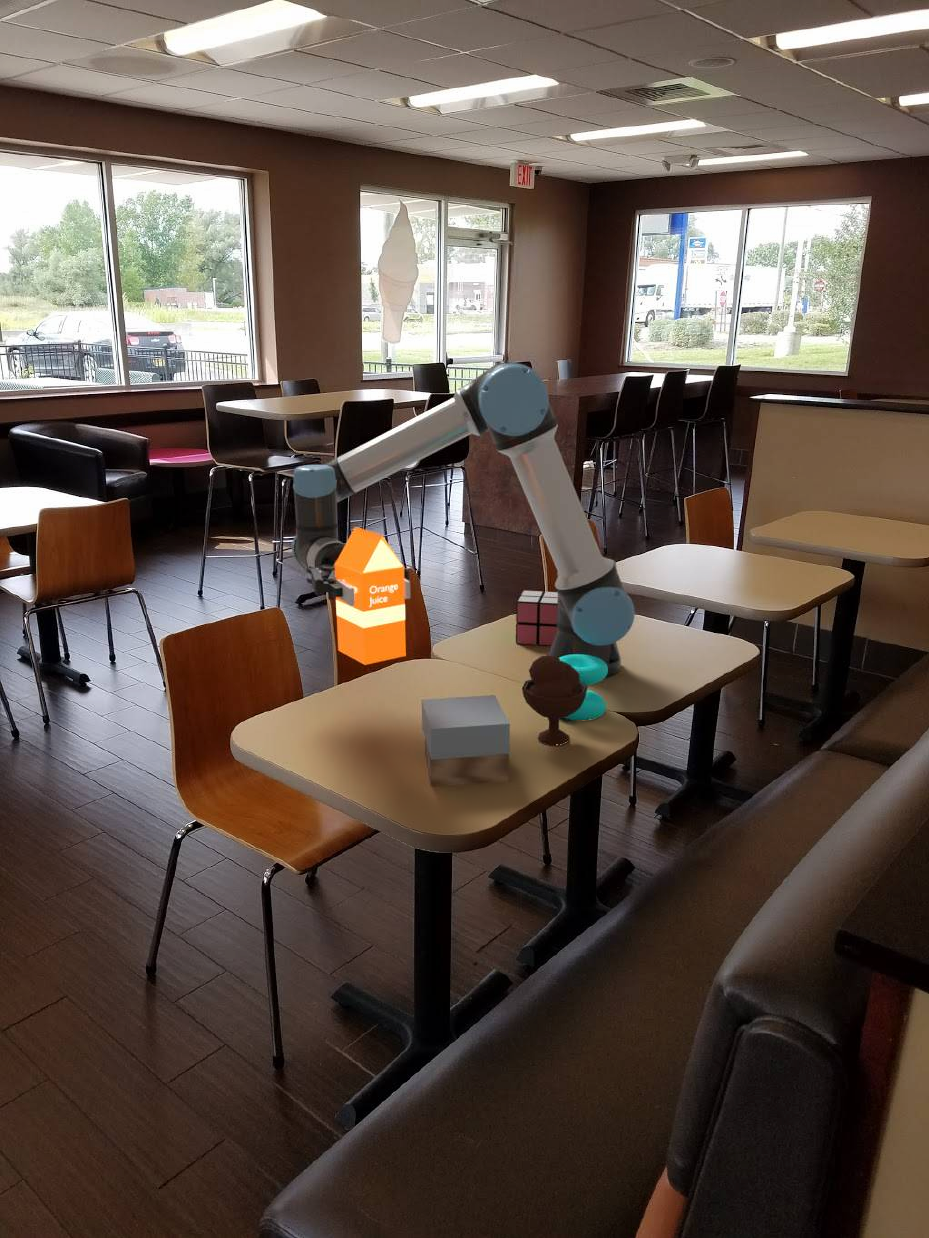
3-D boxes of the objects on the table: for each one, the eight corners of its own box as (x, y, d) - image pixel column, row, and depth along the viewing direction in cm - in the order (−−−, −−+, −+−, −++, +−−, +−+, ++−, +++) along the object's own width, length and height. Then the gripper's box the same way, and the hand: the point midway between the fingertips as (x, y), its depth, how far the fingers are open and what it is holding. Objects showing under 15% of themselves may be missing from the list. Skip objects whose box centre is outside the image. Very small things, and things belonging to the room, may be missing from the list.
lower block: (497, 751, 155) (497, 723, 153) (508, 784, 143) (508, 754, 142) (425, 755, 153) (424, 727, 152) (430, 788, 142) (430, 758, 141)
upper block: (494, 723, 153) (494, 694, 152) (509, 753, 142) (509, 723, 141) (422, 728, 152) (421, 699, 150) (431, 759, 140) (430, 729, 139)
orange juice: (364, 665, 144) (359, 538, 138) (337, 650, 151) (332, 529, 145) (407, 655, 148) (404, 532, 143) (379, 641, 155) (375, 523, 150)
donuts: (540, 658, 168) (582, 648, 173) (539, 710, 171) (580, 698, 176) (578, 674, 160) (620, 663, 166) (576, 728, 163) (617, 715, 169)
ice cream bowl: (569, 757, 151) (572, 670, 147) (509, 742, 157) (510, 658, 153) (596, 735, 160) (600, 652, 156) (538, 721, 166) (540, 641, 161)
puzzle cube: (560, 647, 206) (561, 603, 203) (515, 644, 208) (516, 601, 205) (564, 634, 216) (566, 592, 213) (521, 631, 217) (522, 590, 215)
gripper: (391, 577, 168) (443, 608, 148) (275, 591, 159) (314, 626, 139) (390, 536, 165) (443, 562, 146) (273, 547, 157) (312, 577, 137)
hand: (380, 593), depth 143 cm, fingers closed on orange juice, 8 cm apart
